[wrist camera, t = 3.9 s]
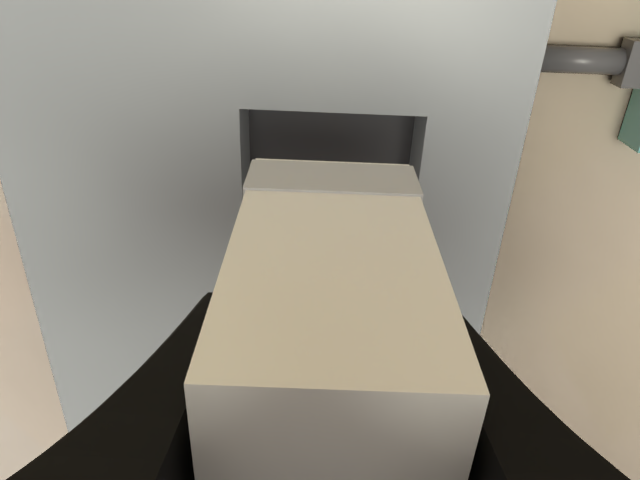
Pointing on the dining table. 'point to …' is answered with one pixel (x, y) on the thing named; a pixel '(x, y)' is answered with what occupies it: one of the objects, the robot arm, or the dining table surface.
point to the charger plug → (333, 336)
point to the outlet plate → (238, 144)
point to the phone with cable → (623, 63)
